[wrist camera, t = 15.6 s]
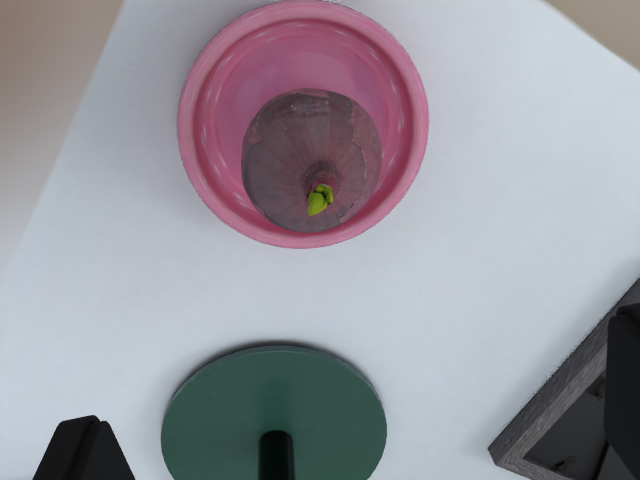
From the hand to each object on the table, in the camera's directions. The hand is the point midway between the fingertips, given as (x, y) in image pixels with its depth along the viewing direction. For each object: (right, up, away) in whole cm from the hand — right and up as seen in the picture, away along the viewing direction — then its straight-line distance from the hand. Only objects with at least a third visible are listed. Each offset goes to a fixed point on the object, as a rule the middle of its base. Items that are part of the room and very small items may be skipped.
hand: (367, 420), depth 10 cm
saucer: (-2, +10, +20) cm, 22 cm away
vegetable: (-2, +8, +17) cm, 19 cm away
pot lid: (-4, -10, +28) cm, 31 cm away
